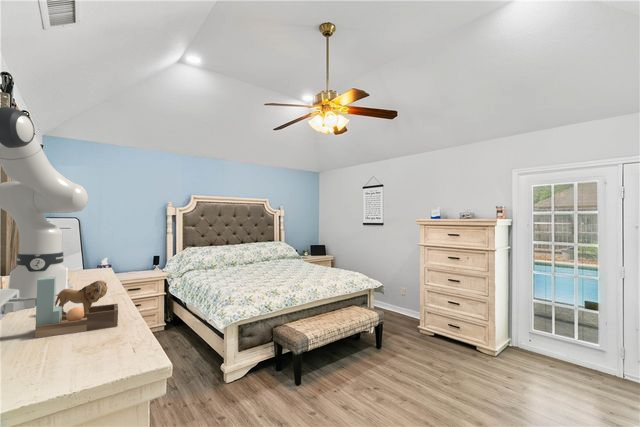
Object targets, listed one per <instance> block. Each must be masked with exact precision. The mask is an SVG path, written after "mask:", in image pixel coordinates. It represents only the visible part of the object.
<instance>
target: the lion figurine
mask: <svg viewBox="0 0 640 427" xmlns="http://www.w3.org/2000/svg"><path fill="white" fill-rule="evenodd" d="M108 287H109V286H107V282H105V281H104V280H95V281H94V282H91V283H90V284H88V285H85V286H83V287H82V289H79V290H77V289H76V290H75V289H74V290H72V289H64V290H62V291H61V292H60V293H59V294H58V295H56V296H57V297H56V300H55V307H60V306H62V316H65V315H66V314H67V312H66V311H64V305H66V304H67V303H69V302H71V303H73V304H82V306H83V311H84V313H89V307H92V306H93V305H92V304H93V303H97V302H99V300H100V299H101V298H103V297H105V296H106V294H107V292H108V290H109V288H108ZM57 305H58V306H57Z"/></svg>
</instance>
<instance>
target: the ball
mask: <svg viewBox="0 0 640 427" xmlns="http://www.w3.org/2000/svg"><path fill="white" fill-rule="evenodd" d="M65 316H66V319H67V320H68V321H69V322H70V321H78V320H81V319H82V318H83V317H84V308H81V307H72V308H71V309H69V310H68V311H67V312H66V314H65Z"/></svg>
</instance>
